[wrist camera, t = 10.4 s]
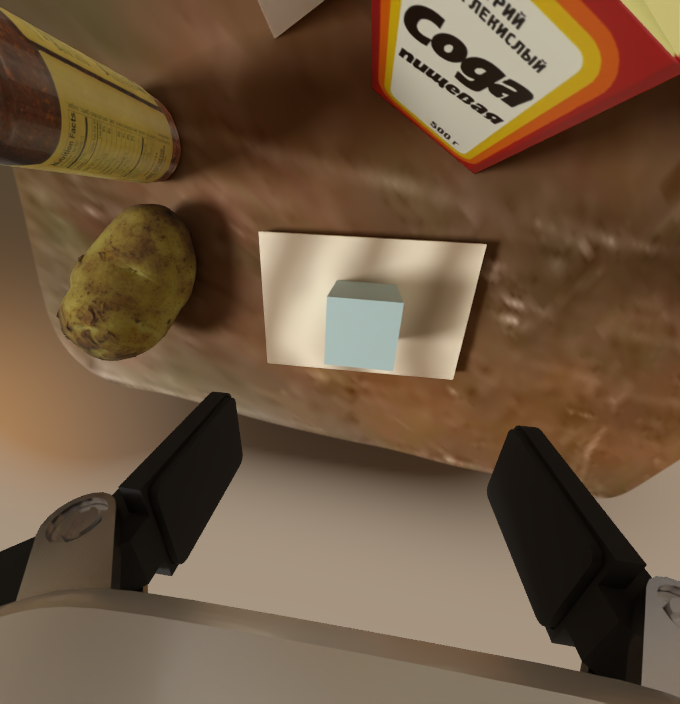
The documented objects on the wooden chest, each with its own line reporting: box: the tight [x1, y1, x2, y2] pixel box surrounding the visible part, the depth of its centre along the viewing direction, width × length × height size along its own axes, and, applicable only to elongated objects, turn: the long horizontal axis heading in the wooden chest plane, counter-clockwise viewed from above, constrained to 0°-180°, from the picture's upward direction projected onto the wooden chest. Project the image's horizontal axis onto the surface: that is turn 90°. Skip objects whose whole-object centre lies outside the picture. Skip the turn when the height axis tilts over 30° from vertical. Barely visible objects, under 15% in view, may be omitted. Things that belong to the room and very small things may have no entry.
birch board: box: [259, 231, 487, 380], centre depth 25 cm, size 18×12×2 cm, turn 87°
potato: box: [57, 204, 196, 361], centre depth 23 cm, size 8×13×8 cm, turn 130°
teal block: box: [324, 280, 404, 371], centre depth 22 cm, size 5×5×6 cm
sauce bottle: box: [0, 7, 181, 183], centre depth 13 cm, size 6×6×20 cm
